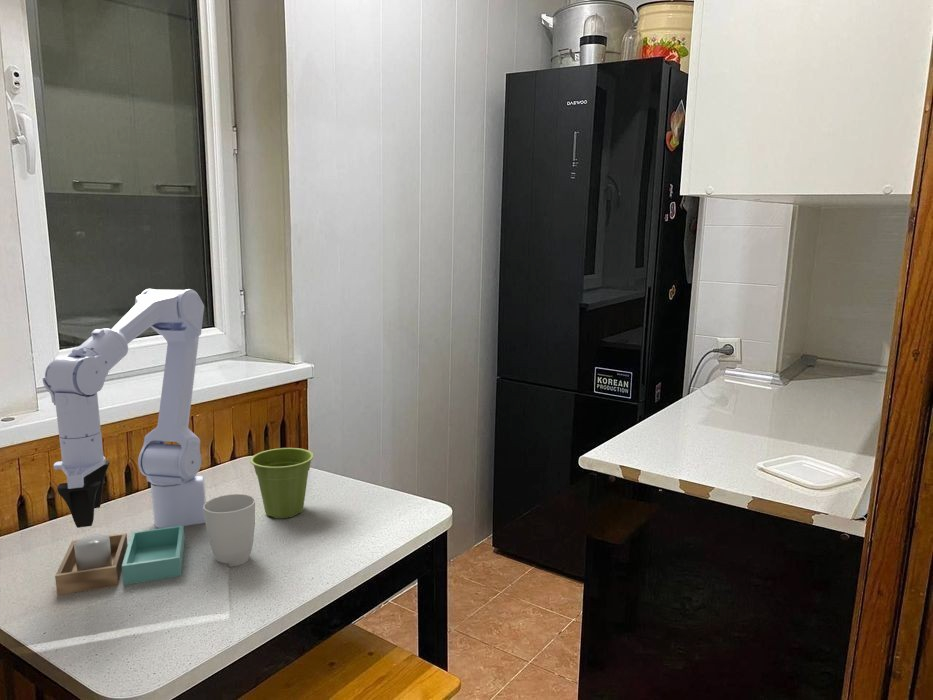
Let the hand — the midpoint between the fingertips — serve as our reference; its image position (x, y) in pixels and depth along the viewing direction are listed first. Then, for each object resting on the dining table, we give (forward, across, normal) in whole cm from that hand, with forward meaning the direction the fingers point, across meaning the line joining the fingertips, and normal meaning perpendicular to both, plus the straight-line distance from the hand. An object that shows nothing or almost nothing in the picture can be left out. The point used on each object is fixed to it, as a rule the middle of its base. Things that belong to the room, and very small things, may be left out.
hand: (89, 516), depth 111 cm
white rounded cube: (+9, 0, 0) cm, 9 cm away
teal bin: (+10, 0, +9) cm, 13 cm away
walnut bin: (+10, 0, 0) cm, 10 cm away
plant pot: (+10, -16, +31) cm, 36 cm away
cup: (+10, +2, +21) cm, 23 cm away
